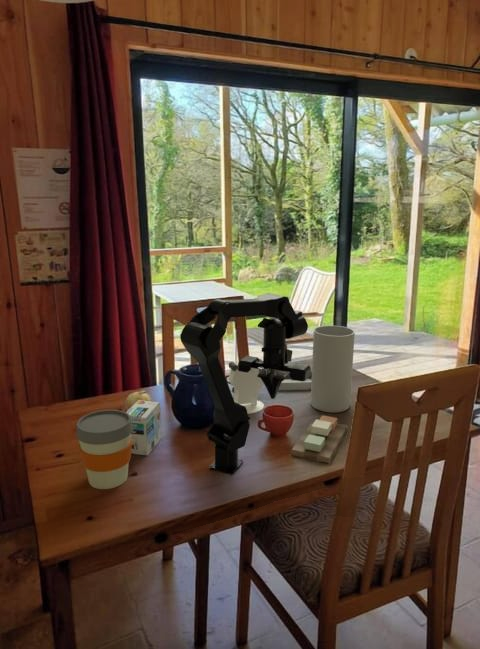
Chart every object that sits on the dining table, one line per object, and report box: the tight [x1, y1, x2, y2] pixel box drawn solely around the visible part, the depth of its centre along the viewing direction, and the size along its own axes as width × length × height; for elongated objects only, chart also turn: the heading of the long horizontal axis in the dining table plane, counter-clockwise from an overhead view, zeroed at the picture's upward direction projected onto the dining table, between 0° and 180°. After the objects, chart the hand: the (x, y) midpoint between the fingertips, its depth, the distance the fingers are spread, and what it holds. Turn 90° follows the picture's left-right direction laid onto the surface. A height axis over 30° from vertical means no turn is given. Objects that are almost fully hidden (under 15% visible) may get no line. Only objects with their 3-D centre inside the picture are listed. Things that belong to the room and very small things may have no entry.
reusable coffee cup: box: [76, 409, 133, 490], centre depth 115 cm, size 13×13×15 cm
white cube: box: [311, 419, 332, 438], centre depth 133 cm, size 4×4×4 cm
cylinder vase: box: [310, 325, 356, 414], centre depth 155 cm, size 12×12×25 cm
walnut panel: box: [291, 418, 348, 464], centre depth 134 cm, size 20×10×2 cm, turn 155°
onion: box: [124, 388, 153, 411], centre depth 152 cm, size 8×8×7 cm
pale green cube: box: [304, 434, 326, 452], centre depth 128 cm, size 4×4×4 cm
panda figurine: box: [228, 358, 265, 415], centre depth 155 cm, size 12×11×15 cm
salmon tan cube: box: [318, 414, 338, 431], centre depth 139 cm, size 4×4×4 cm
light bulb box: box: [125, 400, 162, 456], centre depth 131 cm, size 11×7×11 cm, turn 168°
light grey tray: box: [274, 369, 312, 391], centre depth 178 cm, size 17×5×16 cm
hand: (273, 398), depth 131 cm, fingers closed
